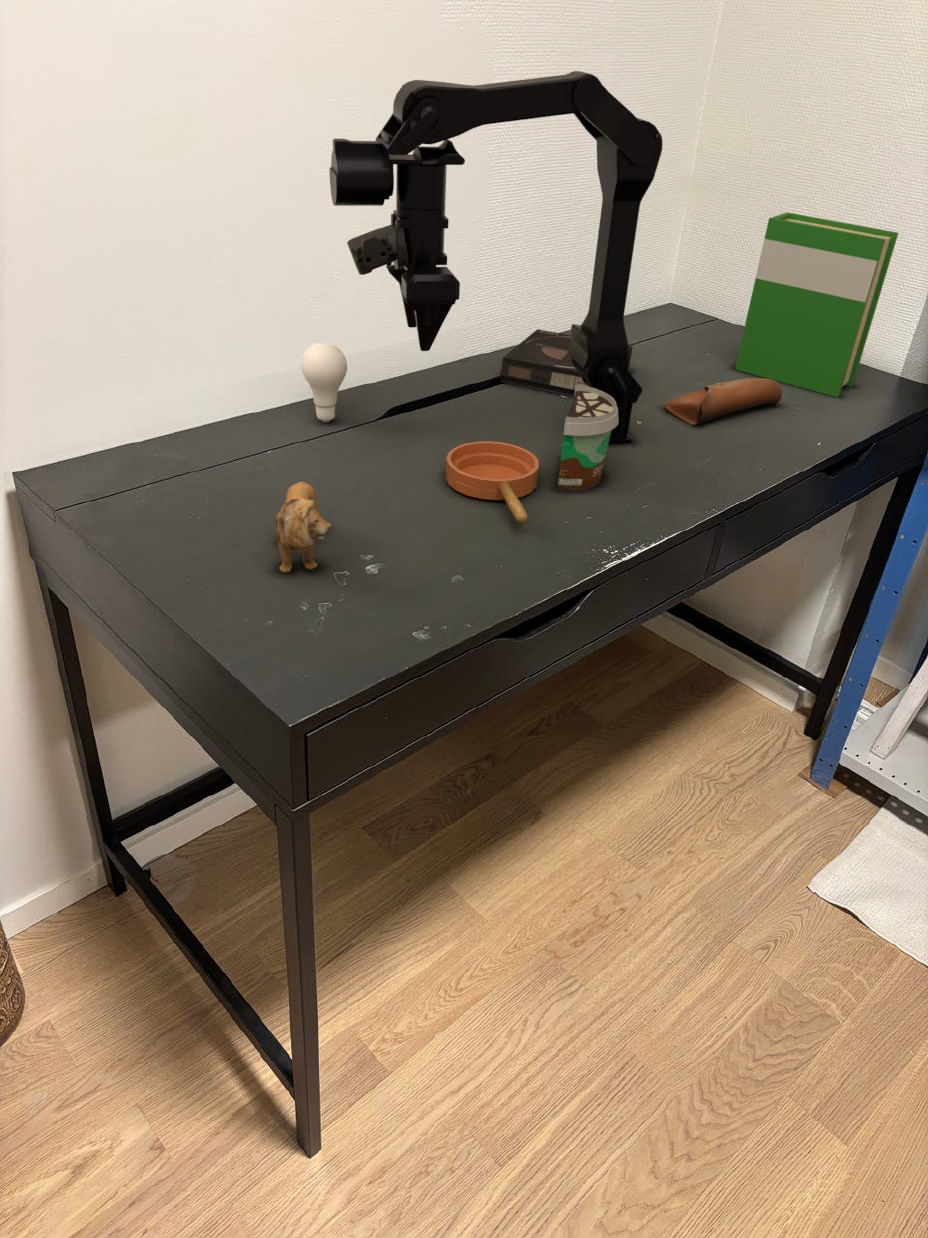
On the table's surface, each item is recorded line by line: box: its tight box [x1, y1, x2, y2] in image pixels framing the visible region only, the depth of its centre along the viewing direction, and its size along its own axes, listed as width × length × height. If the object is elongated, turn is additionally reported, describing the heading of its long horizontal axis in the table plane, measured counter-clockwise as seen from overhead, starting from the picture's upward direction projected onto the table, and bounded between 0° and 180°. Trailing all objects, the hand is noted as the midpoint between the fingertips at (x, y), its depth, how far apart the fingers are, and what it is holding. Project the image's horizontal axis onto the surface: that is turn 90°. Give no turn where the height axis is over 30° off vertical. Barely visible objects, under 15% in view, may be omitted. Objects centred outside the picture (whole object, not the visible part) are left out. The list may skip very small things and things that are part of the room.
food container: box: [556, 385, 619, 492], centre depth 118 cm, size 12×6×10 cm, turn 168°
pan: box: [445, 440, 540, 501], centre depth 118 cm, size 11×11×3 cm
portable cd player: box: [499, 328, 633, 398], centre depth 151 cm, size 16×17×4 cm
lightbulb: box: [300, 341, 348, 423], centre depth 128 cm, size 6×6×11 cm
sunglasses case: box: [663, 377, 783, 426], centre depth 143 cm, size 18×7×7 cm, turn 126°
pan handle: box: [499, 481, 529, 524], centre depth 110 cm, size 1×9×1 cm, turn 13°
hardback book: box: [734, 211, 899, 398], centre depth 151 cm, size 18×7×24 cm, turn 53°
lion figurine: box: [274, 481, 331, 573], centre depth 99 cm, size 15×5×9 cm, turn 13°
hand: (418, 338), depth 119 cm, fingers open, 9 cm apart
